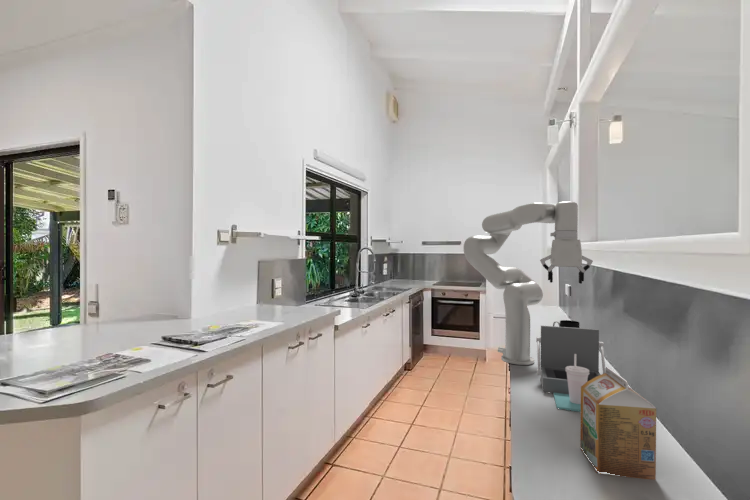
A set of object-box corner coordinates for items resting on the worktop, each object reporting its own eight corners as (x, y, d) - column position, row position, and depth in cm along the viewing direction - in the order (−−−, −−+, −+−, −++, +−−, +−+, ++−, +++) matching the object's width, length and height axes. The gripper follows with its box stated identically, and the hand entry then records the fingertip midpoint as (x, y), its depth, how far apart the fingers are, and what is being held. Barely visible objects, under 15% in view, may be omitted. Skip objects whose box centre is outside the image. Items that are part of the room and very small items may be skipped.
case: (538, 391, 127) (538, 333, 127) (536, 377, 142) (536, 325, 142) (612, 400, 120) (613, 339, 120) (602, 384, 135) (602, 329, 135)
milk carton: (655, 479, 79) (656, 383, 79) (597, 474, 80) (598, 380, 80) (631, 453, 89) (631, 367, 89) (580, 448, 91) (581, 365, 91)
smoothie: (562, 396, 121) (562, 350, 121) (585, 398, 120) (585, 352, 120) (568, 404, 115) (568, 356, 115) (592, 406, 114) (592, 357, 113)
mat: (557, 408, 113) (557, 406, 113) (553, 394, 125) (553, 392, 125) (605, 415, 109) (605, 412, 109) (596, 399, 121) (596, 397, 121)
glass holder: (568, 360, 163) (568, 324, 163) (544, 352, 177) (545, 318, 177) (585, 359, 166) (586, 323, 166) (561, 350, 179) (561, 317, 179)
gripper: (540, 235, 145) (540, 282, 145) (594, 235, 139) (594, 284, 139) (539, 236, 152) (539, 281, 152) (590, 236, 146) (590, 282, 146)
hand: (565, 282), depth 146 cm, fingers open, 9 cm apart
